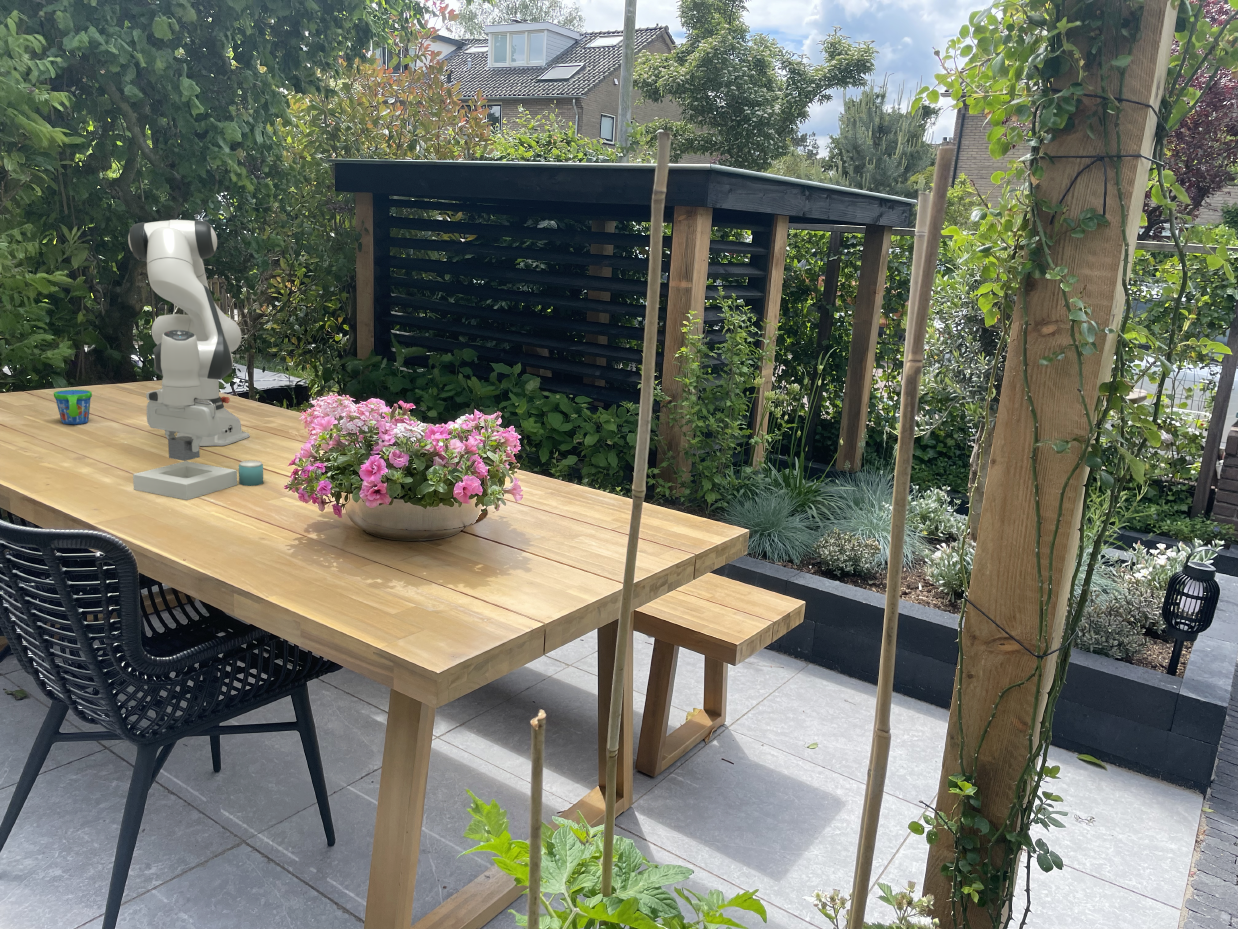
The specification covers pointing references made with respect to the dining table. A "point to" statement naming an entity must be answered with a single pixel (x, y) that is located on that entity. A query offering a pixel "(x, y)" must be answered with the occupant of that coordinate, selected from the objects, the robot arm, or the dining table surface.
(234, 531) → the dining table surface
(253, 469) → the teal pot
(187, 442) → the block
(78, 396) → the snack cup
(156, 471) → the tray
